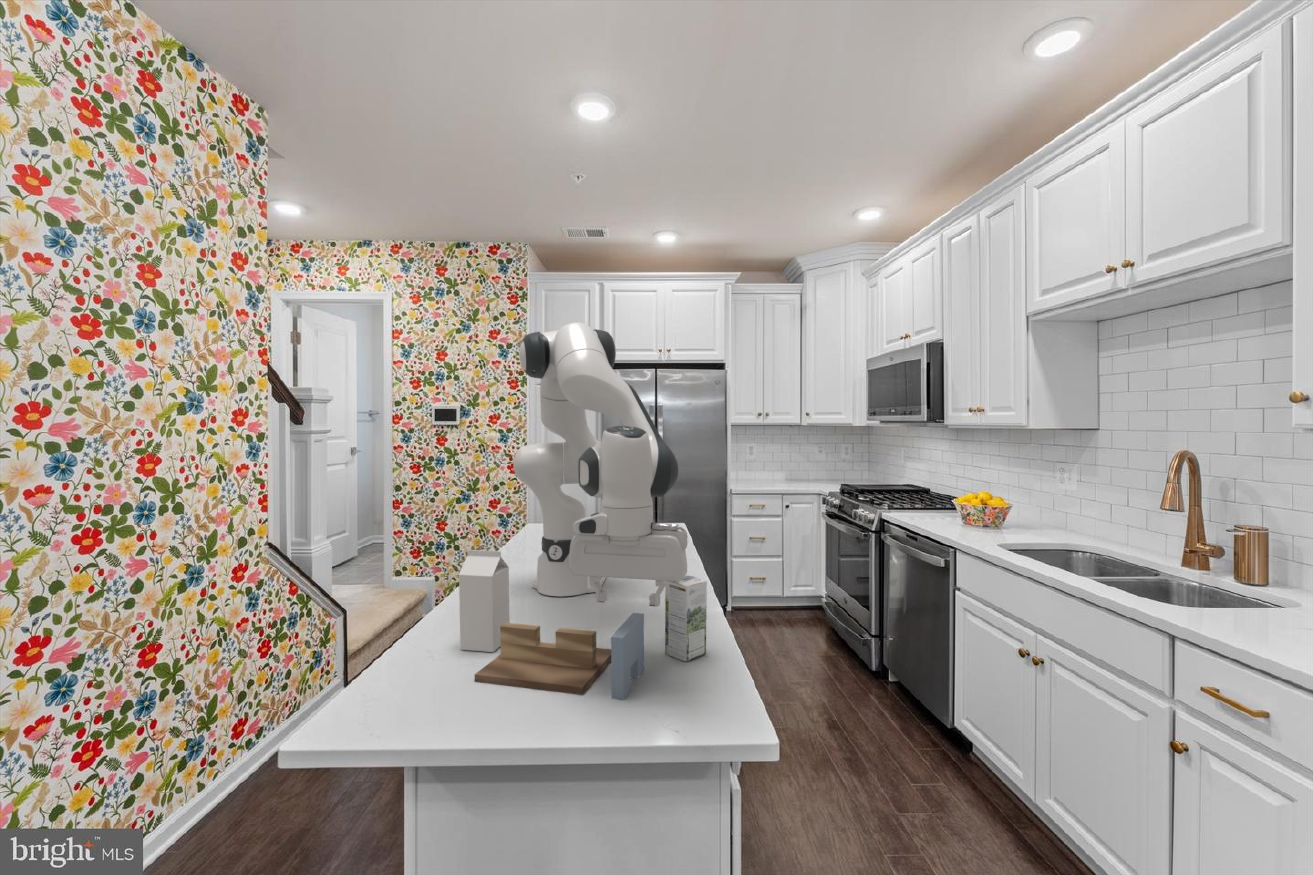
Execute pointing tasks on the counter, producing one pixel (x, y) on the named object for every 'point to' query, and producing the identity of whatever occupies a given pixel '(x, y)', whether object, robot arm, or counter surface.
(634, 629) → the slotted plate
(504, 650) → the rail stand
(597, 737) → the counter surface
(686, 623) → the syrup box
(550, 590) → the robot arm
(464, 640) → the milk carton
